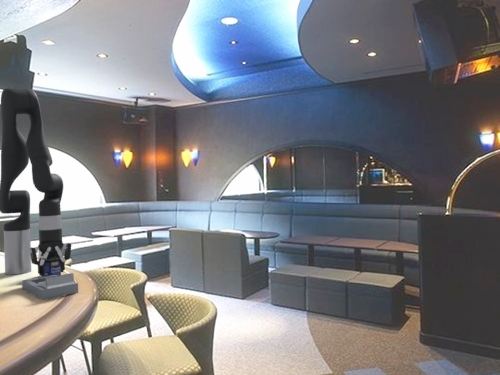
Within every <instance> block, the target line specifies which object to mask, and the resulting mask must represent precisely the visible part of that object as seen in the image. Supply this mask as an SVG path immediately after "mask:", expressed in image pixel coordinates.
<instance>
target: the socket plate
mask: <svg viewBox="0 0 500 375" xmlns="http://www.w3.org/2000/svg"><path fill="white" fill-rule="evenodd" d="M53 276H58V275H50V276H44V277H42V276H39V277H34V278H28V279H23V280H21V282H22V290H23V291H25V292H27V293H28V294H31V295H33V296H34V297H35V298H38V299H40V300H42V301H46V300H50V299H56V298H60V297H64V295H65V296H68V294H70V295H74V294H78V293H79V283H78V282H75V281H74V284H71V285H66V286H61V287H56V288H51V289H46V288H44V287H42V286H39V285H38V282H43V281H46V278H47V277H53Z"/></svg>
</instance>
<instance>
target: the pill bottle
mask: <svg viewBox="0 0 500 375" xmlns="http://www.w3.org/2000/svg"><path fill="white" fill-rule="evenodd" d="M43 265H44V275H43V276H41V277H44V276H50V275H58V276H59V275H62V272H61V259H60V257H59V256H58V253H57V251H50V252H49V254H48V256H47V258H46V260H45V261H44V263H43Z"/></svg>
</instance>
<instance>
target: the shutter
mask: <svg viewBox="0 0 500 375" xmlns="http://www.w3.org/2000/svg"><path fill="white" fill-rule="evenodd" d="M74 275H75V274H74V273H73V272H70V273H66V274H64V273H63V274H61V275H59V276H53V277H47V278H46V281H43V282H38V285H39V286H42V287H44V288H46V289H51V288H56V287H61V286H66V285H71V284H74V282H75V281H74V280H75V278H74Z"/></svg>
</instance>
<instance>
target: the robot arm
mask: <svg viewBox="0 0 500 375" xmlns="http://www.w3.org/2000/svg"><path fill="white" fill-rule="evenodd" d="M0 96H1V97H0V109H1V110H0V111H1V112H0V113H1V124H2V125H1V128H2V129H1V130H2V131H1V133H2V134H1V147H0V148H1V149H0V213H1V214H5V215H7V214H9V215H10V214H20V215H18V217H17V218H15V219H12V220H11V221H8V222H6V223H4V224H3V243H4V244H3V247H4V248H3V250H4V273H5V275H19V274H20V275H21V274H26V273H29V272H31V271H32V264H33V265H37V273H38V275H39V274H40V275H41V276H40V275H39V276H40V277H42V276H43V275H44V265H43V263H44V261H45V260H46V258H47V256H48V254H49V252H50V251H57V253H58V256H59V257H60V259H61V273H64V271H65V269H66V266H65V264H66V261H67V260H70V259H71V253H72V252H71V250H72V243H70V242H65V243H64V242H63V224H62V223H63V222H62V215H61V213H62V211H61V202H62V197H63V192H64V180H63V178H62V177H61V176H60V175H59V174H57V173H51V167H52V165H53V158H52V154H51V152H50V148H49V146H48V144H47V140H46V139H47V138H46V134H45V128H44V122H43V116H42V111H41V104H40V101H39V97H38V95H37V93H36V92H35V91H34V90H33V89H31V88H26V87H25V88H22V87H21V88H19V87H16V88H13V87H8V88H4V89H3V90H2V92H1V95H0ZM17 115H28V118H29V121H30V128H29V131H28V135H27V137H24V135H23V134H22V133H21V131H20V129H19V128H18V125H17ZM25 138H26V139H25ZM29 161H30V164H31V178H32V184H33V185H34V188H35V189H36V190H37V191H39V193H43V194H44V195H43V199H41V200H40V201H39V203H38V214H39V215H38V216H39V217H38V226H37V227H38V241H39V242H38V246H36V247H32V246H31V245H32V244H31V241H32V240H31V216H30V215H31V196H30V193H29V191H28V190H25V189H20V190H19V189H18V190H16V189H15V190H11V188H12V186H13V183H14V182H15V181H16V180H17V178H18V177H20V175H21V174H22V173H23V171H25V170H26V168H27V167H28V164H29ZM62 249H64V254H63V252H62V251H61V250H62ZM38 250H40V251H41V252H42V253H41V255H40V257H39V256H37V255H38V253H39V252H38Z"/></svg>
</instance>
